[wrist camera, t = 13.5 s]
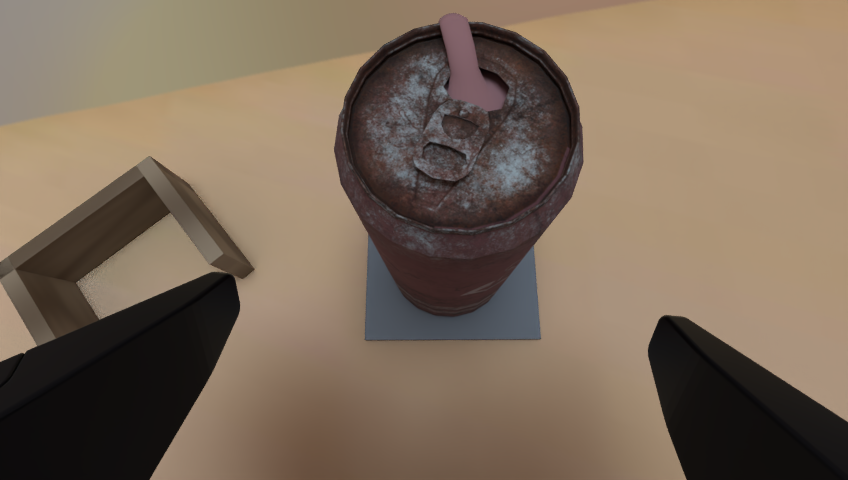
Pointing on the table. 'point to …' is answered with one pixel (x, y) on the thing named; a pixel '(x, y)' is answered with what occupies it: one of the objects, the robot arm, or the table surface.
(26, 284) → the bracket
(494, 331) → the mat
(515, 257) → the can
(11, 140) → the table surface
